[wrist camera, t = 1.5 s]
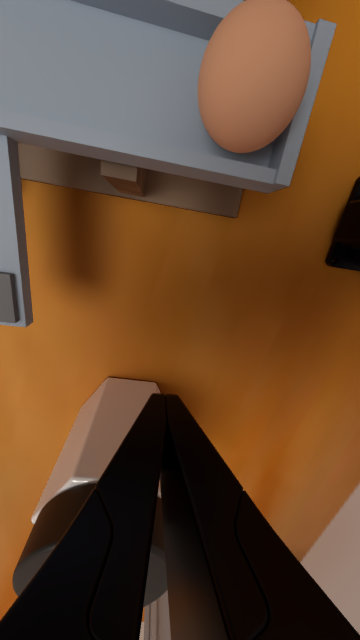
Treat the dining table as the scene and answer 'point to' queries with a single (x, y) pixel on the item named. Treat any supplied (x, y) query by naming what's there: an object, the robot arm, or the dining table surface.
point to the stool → (157, 619)
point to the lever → (120, 103)
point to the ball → (254, 74)
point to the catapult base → (127, 181)
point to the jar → (91, 479)
